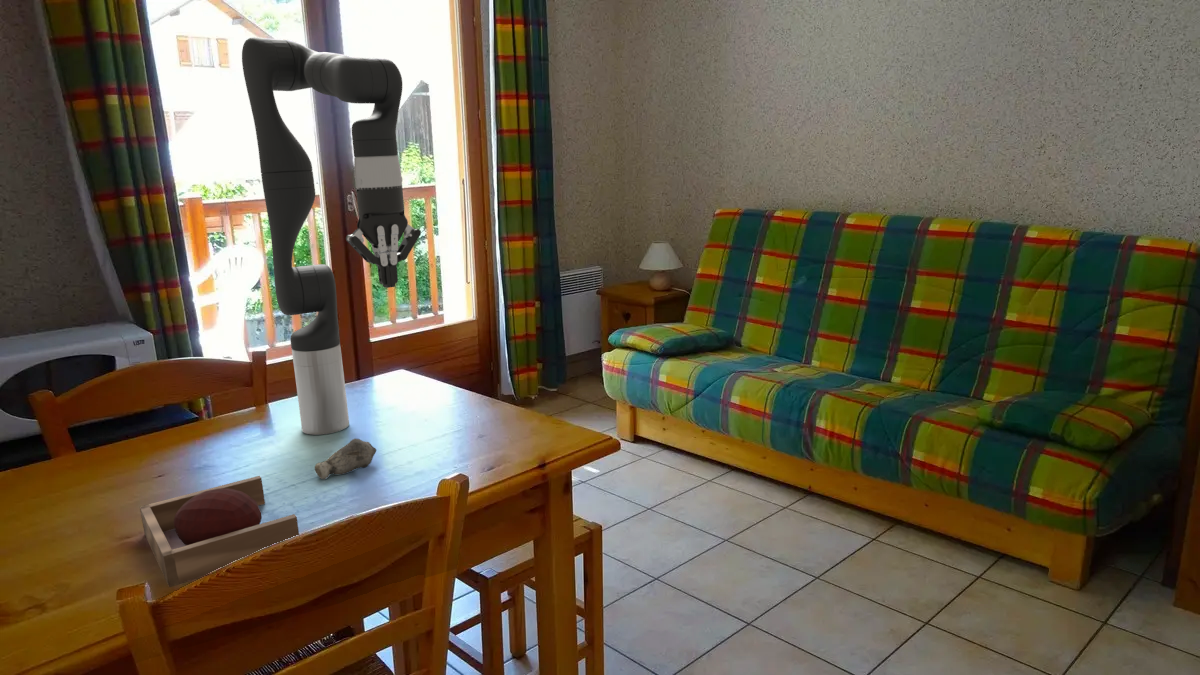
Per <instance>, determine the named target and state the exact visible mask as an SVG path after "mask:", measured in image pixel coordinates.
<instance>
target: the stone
mask: <svg viewBox="0 0 1200 675" xmlns="http://www.w3.org/2000/svg"><path fill="white" fill-rule="evenodd" d="M376 452H377V449H376V447H374V446H373V445H372V443H370V442H369V441H364V440H361V439H359V438H353V439H351V440H350V441H349V442H348V443H346V444H345V445H344V446H342V447H341V448H340V449H337V450H336V451H335V452H333V454H331V455H330V456H329V457H328V458H327V459H326V460H325V461H321V462H318V463H316V464H315V465H314V472H315V474H316V476H317V477H318V478H319V479H321V480H326V479H328V478H329V477H330V475H336V476H338V475H339V476H340V475H346V474H348V473H350V472H353V471H355V470H358V469H364V468H367V467H368V466H370V465H371V463H372V460H373V458H374V456H375V454H376Z"/></svg>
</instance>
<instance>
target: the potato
mask: <svg viewBox="0 0 1200 675" xmlns="http://www.w3.org/2000/svg"><path fill="white" fill-rule="evenodd" d="M262 518H263V516H262V512H261V509H260V507H259V506H258V504H257V502H256V501H255V500H254V499H252V498H251V497H250V496H248V495H247V494H245V493H243V492H241V491H237V490H234V489H225V488H219V489H214V490H209V491H205V492H202V493H200V494H198V495H196V496H194V497H193V498H191V499H190V500H189V501H187V502H186V503H185V504H184V505H183V506H182V507H181V508H180V509H179V510H178V512H177V513H176V514H175V518H174V522H173V523H174V527H175V529H174V530H175V533H176V535H177V537H178V539H179V540H180V542H182V543H183V545H184V546H187V545H190V544H193V543H197V542H200V541H204V540H207V539H211V538H214V537H217V536H221V535H224V534H228V533H231V532H235V531H238V530H241V529H245V528H248V527H252V526H255V525H259V524H261V522H262Z"/></svg>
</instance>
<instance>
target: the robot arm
mask: <svg viewBox="0 0 1200 675" xmlns="http://www.w3.org/2000/svg"><path fill="white" fill-rule="evenodd" d="M241 50H242V51H241V62H242V63H241V64H242V72H243V78H244V84H245V86H246V91H247V94H248V95H247V97H248V100H249V104H250V109H251V113H252V116H253V123H254V129H255V135H256V136H255V137H256V141H257V149H258V158H259V167H260V175H261V183H262V189H263V195H264V200H265V206H266V213H267V219H268V223H269V224H268V225H269V231H270V239H271V240H270V241H271V249H272V251H271V252H272V263H273V265H272V266H273V275H274V277H273V278H274V287H275V295H276V300H277V305H278V308H279V310H280V311H281V313H282V314H283V315H285V316H296V315H305V314H312V313H317V315H316V317H314V319H313V320H311V322H310V323H308V324H307V325H305V326H303V327H301V328H299V329H297V330H295V331H294V332H293V333H292V334H291V335H290V338H289V340H290V347H291V348H290V349H291V355H292V362H293V369H294V377H295V384H296V394H297V399H298V400H297V401H298V408H299V417H300V424H301V430H302V432H303V433H304V434H306V435H311V436H313V435H315V436H317V435H319V436H320V435H328V434H335V433H337V432H340V431H343V430H344V429H346V428H348V427H349V425H350V418H349V409H348V399H347V391H346V382H345V373H344V366H343V357H342V356H343V355H342V348H341V340H340V328H339V316H338V302H337V300H338V299H337V286H336V285H337V284H336V280H335V274H334V273H333V270H332V269H331V267H330V266H329V265H328V264H324V263H323V264H312V265H309V264H308V265H301V266H293V253H294V248H295V245H296V242H297V239H298V236H299V234H300V231H301V230H302V227H303V225H304V224H305V222H306V220H307V218H308V216H309V214H310V212H311V211H312V208H313V205H314V203H315V201H316V200H315V199H316V187H315V180H314V179H315V178H314V172H313V165H312V161H311V159H310V157H309V155H308V154H307V152H306V151H305V149H304V147H303V146H302V145H301V143H300V142H299V141H298V139H297V138H296V137H295V136H294V134H293V133H292V131H291V130H290V129H289V127H288V126H287V125H286V123H285V122H284V119H283V117H282V116H281V114H280V111H279V108H278V106H277V101H276V99H275V95H274V93H275V92H294V91H300V90H306V89H313V90H314V91H316V92H317V93H320V94H322V95H327V96H330V97H336V98H338V100H340V101H342V102H345V103H349V104H374V107H373V110H372V113H371V115H370V117H367V118H366V117H365V118H362V119H358V120H355V121H354V122H353V124H351V139H352V140H351V141H352V149H353V151H352V152H353V157H354V158H353V159H354V160H353V163H354V164H353V174H354V184H355V195H356V203H357V205H356V206H357V211H358V221H357V224H356V227H357V229H355V230H354V231H353V232H351V234H347V235H346V237H345V240H346V242H347V243H348V244H349V245H350V246H351V247H352V248H353V249H354V250H355V251H356V253H358V255H359V256H360V257H361V258H362V259H363V260H364V261H365V263H368V264H369V263H370V264H372V265H376V267H377V272H378V273H377V274H378V282H379V283H380V285H382V287H383V288H385V289H388V288H395V287H396V284H398V281H399V279H398V278H399V277H398V266H397V265H398V264H399V263H400V262H402V261H405V260H407V258H408V257H409V255H410V254H411V251H412V250H413V248H414V247H415V244H416V243H417V241H418V239H419V238H420V236H421V233H422V232H421V230H420V229H418V228H417V229H416V228H414V227H413V226H412V225H410V224H409V220H408V219H407V217H406V215H405V201H404V191H403V190H404V189H403V176H402V172H401V165H400V160H399V154H398V143H397V133H396V132H397V125H398V124H397V123H398V117H399V110H400V105H401V100H402V93H403V78H402V75H401V72H400V70H399V68H398V66H397V65H396V63H394V62H393V61H392V60H390V59H387V58H375V57H373V58H371V57H355V56H354V57H353V56H350V55H347V54H343V53H342V54H341V53H336V52H327V51H322V52H320V51H319V52H318V51H316V50H313V49H311V48H309V47H307V46H306V45H304V44H302V43H299V42H297V41H293V40H291V39H281V38H270V37H269V38H268V37H267V38H266V37H255V36H254V37H249V38H246V40H245V41H244V43H243V46H242V49H241ZM274 91H275V92H274ZM402 236H403V237H404V238H403V239H402ZM364 238H365V239H366V240H367V242H369V244H371V249H372V251H371V250H370V249H369V248H368V247H367V246H366V245H365V244H364V242H365V239H364ZM401 239H402V241H401V243H400V245H399V242H400V240H401Z"/></svg>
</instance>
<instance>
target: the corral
mask: <svg viewBox="0 0 1200 675" xmlns="http://www.w3.org/2000/svg"><path fill="white" fill-rule="evenodd" d="M219 488H225V489H234V490H237V491H241V492H243V493H245V494H247V495H248V496H250V497H251V498H252V499H254V500H255V501H256V502H257V504H258V507H259V506H261V505H265V504H266V501H265V494H264V493H265V492H264V486H263V479H262V477H261V476H260V475H257V476H254V477H249V478H245V479H241V480H237V481H233V482H230V483H224V484H222V485H218V486H214V487H211V488H210V487H209V488H207V489H202V490H199V491H195V492H191V493H187V494H182V495H179V496H175V497H172V498H168V499H165V500H160V501H156V502H152V503H149V504H145V505H140V506H139V512H140V517H141V522H142V528H143V532H144V536H145V538H146V540H147V543H148V544H149V547H150V549H151V551H152V553H153V555H154V557H155V560H156V562H157V564H158V566H159V569H160V571H161V572H162V575H163V577H164V579H165V581H166V584H167V585H168V588H170V587H174V586H176V585H180V584H184V583H186V582H189V581H192V580H196V579H199V578H202V577H201V576H203V577H205V576H204V575H206V574H208V573H210V572H212V571H214V570H216V569H218V568H220V567H223V566H225V565H227V564H229V563H231V562H233V561H235V560H238V559H240V558H242V557H245V556H247V555H250V554H252V553H254V552H256V551H258V550H260V549H262V548H264V547H267V546H270V545H272V544H274V543H277V542H280V541H283V540H285V539H288V538H291V537H293V536H296V535H299V536H300V530H299V524H298V523H299V522H298V517H297V515H296V514H294V513H293V514H290V515H286V516H283V517H280V518H275V519H272V520H270V521H266V522H262V523H260V524H259V525H255V526H252V527H248V528H245V529H241V530H238V531H235V532H231V533H228V534H224V535H221V536H217V537H214V538H211V539H207V540H204V541H200V542H197V543H193V544H190V545H187V546H186V545H183V546H181V547H177V548H173V549H172V548H171V545H170V543H169V542H168V540H167V537H166V535H165V534H164V533H165V532H169V531H173V530H175V527H174V523H173V522H174V518H175V514H176V513H177V512H178V510H179V509H180V508H181V507H182V506H183V505H184V504H185V503H186V502H187V501H189V500H190V499H191V498H193V497H194V496H196V495H198V494H200V493H202V492H205V491H209V490H214V489H219ZM206 576H207V575H206Z"/></svg>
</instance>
